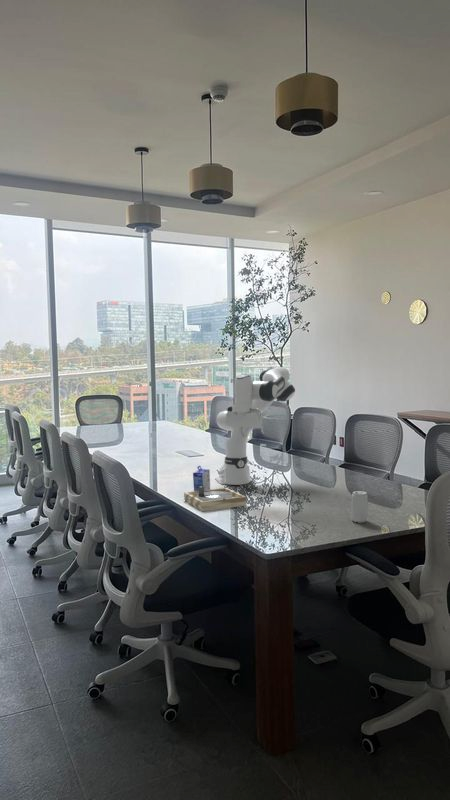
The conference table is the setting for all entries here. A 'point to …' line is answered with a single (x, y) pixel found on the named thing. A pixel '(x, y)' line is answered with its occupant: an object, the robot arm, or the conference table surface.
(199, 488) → the dial
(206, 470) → the ink cartridge box
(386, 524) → the conference table surface
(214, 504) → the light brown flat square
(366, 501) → the beverage can
